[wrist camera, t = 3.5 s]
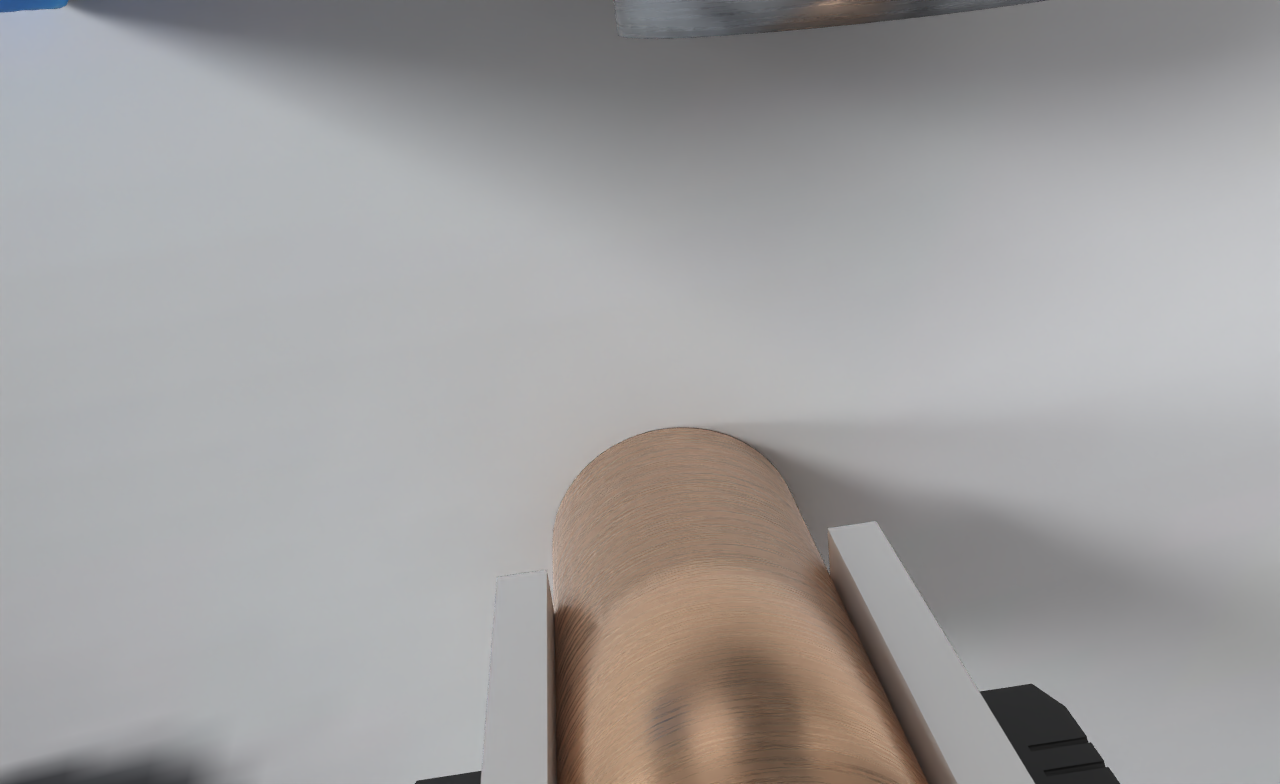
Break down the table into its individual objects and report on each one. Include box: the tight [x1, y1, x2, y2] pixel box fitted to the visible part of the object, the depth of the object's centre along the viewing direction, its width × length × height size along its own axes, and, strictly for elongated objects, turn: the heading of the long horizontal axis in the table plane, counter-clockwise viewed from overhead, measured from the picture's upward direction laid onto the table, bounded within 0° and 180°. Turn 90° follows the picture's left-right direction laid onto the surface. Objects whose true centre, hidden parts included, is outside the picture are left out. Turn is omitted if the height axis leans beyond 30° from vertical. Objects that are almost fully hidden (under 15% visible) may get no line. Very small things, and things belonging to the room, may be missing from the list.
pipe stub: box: [553, 428, 928, 784], centre depth 13 cm, size 4×4×12 cm
